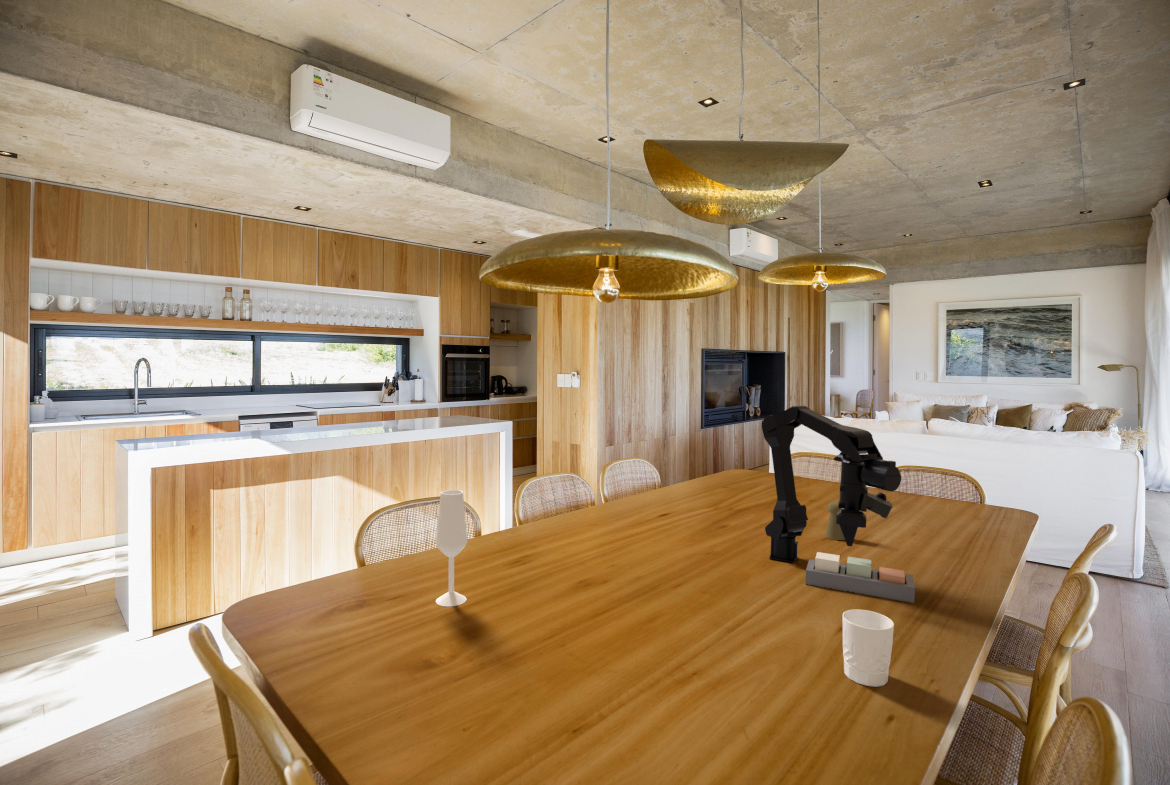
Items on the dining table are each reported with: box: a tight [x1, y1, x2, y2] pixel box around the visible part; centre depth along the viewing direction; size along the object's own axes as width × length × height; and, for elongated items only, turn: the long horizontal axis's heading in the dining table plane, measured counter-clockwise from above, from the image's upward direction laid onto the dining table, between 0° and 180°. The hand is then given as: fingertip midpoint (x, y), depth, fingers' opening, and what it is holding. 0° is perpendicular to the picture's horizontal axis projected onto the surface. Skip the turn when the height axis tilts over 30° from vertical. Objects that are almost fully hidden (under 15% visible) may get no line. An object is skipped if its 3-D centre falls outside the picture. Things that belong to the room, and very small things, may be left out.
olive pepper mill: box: [825, 501, 845, 541], centre depth 178 cm, size 6×6×11 cm
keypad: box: [804, 558, 916, 604], centre depth 138 cm, size 23×9×4 cm, turn 64°
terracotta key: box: [878, 566, 906, 584], centre depth 135 cm, size 5×5×4 cm
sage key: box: [846, 556, 872, 578], centre depth 138 cm, size 5×5×4 cm
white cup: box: [842, 608, 895, 688], centre depth 98 cm, size 8×8×10 cm
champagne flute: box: [435, 489, 468, 607], centre depth 126 cm, size 7×7×24 cm
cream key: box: [814, 551, 841, 573], centre depth 141 cm, size 5×5×4 cm
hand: (849, 545), depth 139 cm, fingers closed
